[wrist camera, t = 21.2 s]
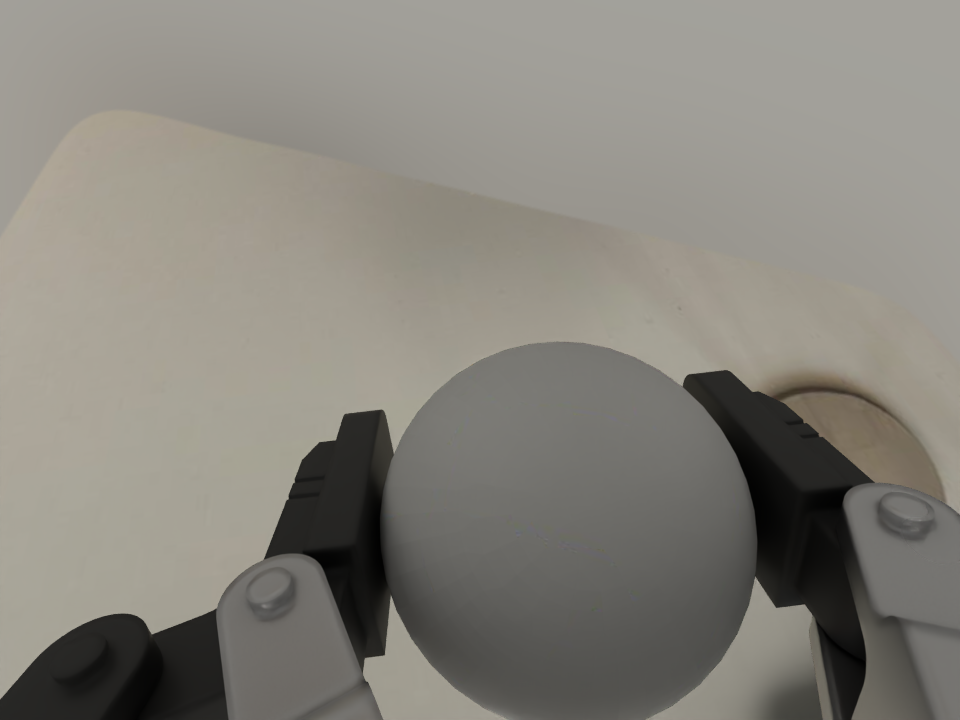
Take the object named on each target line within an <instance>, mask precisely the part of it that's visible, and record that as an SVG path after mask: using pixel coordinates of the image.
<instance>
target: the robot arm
mask: <svg viewBox="0 0 960 720" xmlns="http://www.w3.org/2000/svg"><path fill="white" fill-rule="evenodd" d="M683 388H684V389H685V390H686V391H687V392H688V393H690V394H691V395H692V396H693V397H694V398H695V399H696V400H697V401H698V402H699V403H700V404H701V405H702V406H703V407H704V408H705V409H706V411H707V412H708V413H709V415H710V416H711V417H712V418H713V420H714V421H715V422H716V423H717V425H718V426H719V427H720V428H721V430H722V432H723V433H724V435H725V437H726V438H727V440H728V442H729V443H730V445H731V447H732V449H733V450H734V452H735V454H736V456H737V458H738V461H739V463H740V466H741V468H742V470H743V473H744V475H745V478H746V480H747V483H748V487H749V491H750V495H751V499H752V503H753V507H754V511H755V521H756V531H757V560H756V574H755V577H756V578H757V580H758V581H759V583H760V584H761V586H762V587H763V589H764V590H765V592H766V593H767V595H768V596H769V598H770V599H771V601H772V602H773V604H774V605H775V607H776V608H779V607H787V606H795V605H803V604H805V605H806V607H807V608H808V609H809V611H810V612H811V613H812V615H813V617H812V621H811V625H810V629H809V638H810V644H811V650H812V656H813V663H814V669H815V675H816V681H817V687H818V693H819V699H820V706H821V712H822V718H823V720H960V515H959V514H958V513H957V512H956V511H955V510H953V509H952V508H951V507H949V506H948V505H946V504H945V503H943V502H942V501H940V500H938V499H936V498H934V497H932V496H930V495H928V494H925V493H923V492H920V491H917V490H915V489H912V488H908V487H904V486H900V485H895V484H888V483H875V482H873V481H872V480H871V479H870V478H869V477H868V476H867V475H865V474H864V473H863V472H862V471H861V470H860V469H859V468H857V467H856V466H855V465H854V464H853V463H852V462H851V461H850V460H848V459H847V458H846V457H845V456H844V455H843V454H842V453H840V452H839V451H838V450H837V449H836V448H835V447H834V446H832V445H831V444H830V443H829V442H828V441H827V440H826V439H824V438H823V437H819V435H818V434H819V433H818V432H816V431H815V430H814V429H813V428H812V427H811V426H810V425H808V424H807V423H803V419H802V418H800V417H799V416H798V415H797V414H796V413H795V412H794V411H792V410H791V409H790V408H789V407H788V406H787V405H786V404H784V403H782V402H780V401H778V400H776V399H774V398H771V397H769V396H767V395H765V394H763V393H761V392H752V391H751V390H750V389H749V388H748V387H746V386H745V385H744V384H743V383H742V382H741V381H740V380H739V379H738V378H737V377H736V376H735V375H734V374H732V373H731V372H730V371H728V370H723V371H714V372H706V373H697V374H689V375H687V376H686V378H685V380H684V383H683ZM393 456H394V453H393V448H392V443H391V438H390V433H389V428H388V423H387V419H386V415H385V412H384V411H383V410H374V411H366V412H357V413H349V414H345V415H344V416H343V419H342V422H341V426H340V429H339V432H338V435H337V439H336V440H335V441H327V442H319V443H318V444H317V445H316V446H315V447H314V448H313V449H312V450H311V452H310V453H309V454H308V455H307V456H306V457H305V458H304V459H303V460H302V462H301V464H300V467H299V470H298V472H297V475H296V477H295V483H293V485H292V488H291V490H290V493H289V500H287V501H286V503H285V506H284V509H283V511H282V514H281V516H280V519H279V522H278V524H277V527H276V529H275V532H274V535H273V537H272V540H271V542H270V545H269V548H268V550H267V553H266V555H265V558H264V560H263V561H261V562H259V563H256V564H255V565H253V566H251V567H250V568H248V569H247V570H245V571H244V572H243V573H241V574H240V575H239V576H238V577H237V578H236V579H235V580H234V581H233V582H232V583H231V584H230V585H229V586H228V587H227V589H226V590H225V592H224V593H223V595H222V596H221V599H220V601H219V603H218V607H217V609H215V610H213V611H211V612H209V613H207V614H204V615H202V616H199V617H197V618H194V619H192V620H189V621H186V622H184V623H181V624H178V625H176V626H173V627H171V628H168V629H165V630H163V631H160V632H158V633H155V634H151V633H150V631H149V629H148V627H147V625H146V624H145V623H144V621H143V620H142V619H140V618H139V617H137V616H134V615H131V614H113V615H108V616H103V617H100V618H97V619H94V620H92V621H90V622H87V623H85V624H83V625H81V626H79V627H77V628H75V629H73V630H72V631H70V632H68V633H67V634H65V635H64V636H62V637H61V638H59V639H58V640H57V641H55V642H54V643H53V644H51V645H50V646H49V647H48V648H47V649H46V650H45V651H43V652H42V653H41V654H40V655H39V656H38V657H37V658H36V659H35V661H34V662H33V663H32V664H31V665H30V666H29V667H28V668H27V669H26V671H25V672H24V673H23V674H22V675H21V676H20V678H19V679H18V680H17V681H16V682H15V683H14V684H13V686H12V687H11V688H10V689H9V690H8V691H7V693H6V694H5V695H4V696H3V697H2V698H1V699H0V720H383V718H382V716H381V713H380V710H379V708H378V705H377V703H376V700H375V698H374V695H373V693H372V690H371V688H370V686H369V684H368V682H366V681H365V679H364V676H363V667H364V660H365V658H368V657H376V656H383V655H385V647H386V637H387V627H388V617H389V607H390V597H391V593H390V590H389V587H388V584H387V581H386V576H385V571H384V565H383V560H382V554H381V545H380V513H381V504H382V496H383V489H384V485H385V481H386V478H387V474H388V471H389V467H390V463H391V460H392V458H393Z"/></svg>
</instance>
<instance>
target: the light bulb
mask: <svg viewBox="0 0 960 720" xmlns="http://www.w3.org/2000/svg"><path fill="white" fill-rule="evenodd" d="M380 545H381V554H382V560H383V565H384V571H385V576H386V581H387V584H388V587H389V590H390V593H391V596H392V598H393V601H394V604H395V607H396V610H397V612H398V614H399V616H400V618H401V620H402V621H403V623H404V625H405V627H406V629H407V631H408V633H409V635H410V637H411V639H412V640H413V641H414V643H415V644H416V645H417V647H418V648H419V649H420V651H421V652H422V653H423V655H424V656H425V657H426V659H427V660H428V661H429V663H430V664H431V665H432V666H433V667H434V668H435V669H436V670H437V671H438V672H439V673H440V674H441V675H442V676H443V677H444V678H445V679H446V680H447V681H448V682H449V683H450V684H451V685H452V686H453V687H454V688H455V689H457V690H458V691H459V692H461V693H462V694H464V695H465V696H467V697H468V698H470V699H471V700H472V701H474V702H475V703H477V704H478V705H480V706H481V707H483V708H485V709H487V710H489V711H491V712H493V713H495V714H498V715H500V716H502V717H504V718H506V719H508V720H646V719H648V718H650V717H651V716H653V715H655V714H657V713H659V712H661V711H663V710H665V709H667V708H669V707H671V706H673V705H674V704H675V703H677V702H678V701H679V700H680V699H682V698H683V697H684V696H686V695H687V694H688V693H689V692H691V691H692V690H693V689H695V688H696V687H697V686H698V685H700V684H701V682H702V681H703V680H704V679H705V678H706V677H707V676H708V675H709V673H710V672H711V671H712V670H713V669H714V668H715V667H716V666H717V664H718V663H719V662H720V661H721V660H722V658H723V656H724V655H725V653H726V651H727V650H728V648H729V647H730V645H731V643H732V642H733V640H734V638H735V637H736V635H737V633H738V631H739V628H740V626H741V623H742V621H743V618H744V616H745V613H746V611H747V608H748V606H749V602H750V597H751V593H752V588H753V583H754V579H755V574H756V560H757V531H756V521H755V511H754V507H753V503H752V499H751V495H750V491H749V487H748V483H747V480H746V478H745V475H744V473H743V470H742V468H741V466H740V463H739V461H738V458H737V456H736V454H735V452H734V450H733V449H732V447H731V445H730V443H729V442H728V440H727V438H726V437H725V435H724V433H723V432H722V430H721V428H720V427H719V426H718V425H717V423H716V422H715V421H714V420H713V418H712V417H711V416H710V415H709V413H708V412H707V411H706V409H705V408H704V407H703V406H702V405H701V404H700V403H699V402H698V401H697V400H696V399H695V398H694V397H693V396H692V395H691V394H690V393H688V392H687V391H686V390H685V389H684V388H683V387H682V386H681V385H679V384H678V383H676V382H675V381H674V380H672V379H671V378H669V377H668V376H667V375H665V374H664V373H662V372H661V371H660V370H658V369H656V368H654V367H652V366H650V365H648V364H646V363H645V362H643V361H641V360H639V359H637V358H635V357H632V356H629V355H627V354H624V353H621V352H618V351H615V350H613V349H610V348H605V347H600V346H595V345H590V344H585V343H573V342H547V343H537V344H528V345H524V346H520V347H516V348H512V349H508V350H504V351H501V352H499V353H496V354H494V355H492V356H489V357H487V358H484V359H482V360H480V361H478V362H476V363H475V364H473V365H471V366H470V367H468V368H466V369H465V370H463V371H461V372H460V373H458V374H457V375H455V376H454V377H453V378H452V379H451V380H449V381H448V382H447V383H446V384H445V385H443V386H442V387H441V388H440V389H439V390H437V391H436V392H435V393H434V394H433V395H432V397H431V398H430V399H429V400H428V401H427V402H426V403H425V404H424V406H423V407H422V408H421V409H420V410H419V411H418V412H417V414H416V415H415V417H414V419H413V420H412V422H411V423H410V425H409V426H408V428H407V429H406V431H405V433H404V434H403V436H402V438H401V440H400V442H399V445H398V447H397V449H396V451H395V454H394V456H393V458H392V460H391V463H390V467H389V471H388V474H387V478H386V481H385V485H384V489H383V496H382V504H381V513H380Z"/></svg>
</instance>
